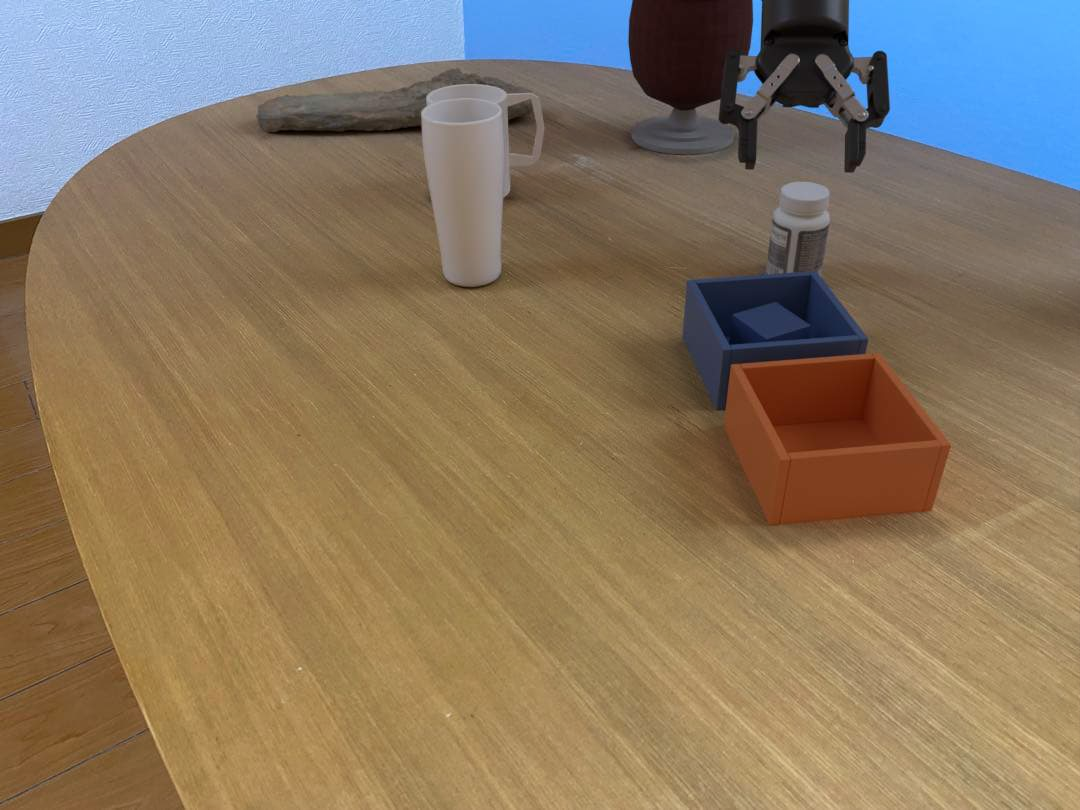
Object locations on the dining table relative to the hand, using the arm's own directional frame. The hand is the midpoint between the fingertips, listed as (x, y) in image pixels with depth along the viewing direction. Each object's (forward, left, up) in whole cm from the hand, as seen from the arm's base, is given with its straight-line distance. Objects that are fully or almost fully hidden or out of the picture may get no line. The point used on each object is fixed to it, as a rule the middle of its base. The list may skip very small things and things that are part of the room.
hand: (800, 167), depth 81 cm
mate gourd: (+1, -34, -9) cm, 35 cm away
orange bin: (+8, +30, -9) cm, 32 cm away
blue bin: (+8, +18, -9) cm, 22 cm away
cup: (+26, -21, -9) cm, 35 cm away
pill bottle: (+1, +4, -9) cm, 10 cm away
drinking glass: (+29, -1, -9) cm, 30 cm away
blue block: (+8, +18, -8) cm, 21 cm away
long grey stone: (+36, -45, -9) cm, 58 cm away
